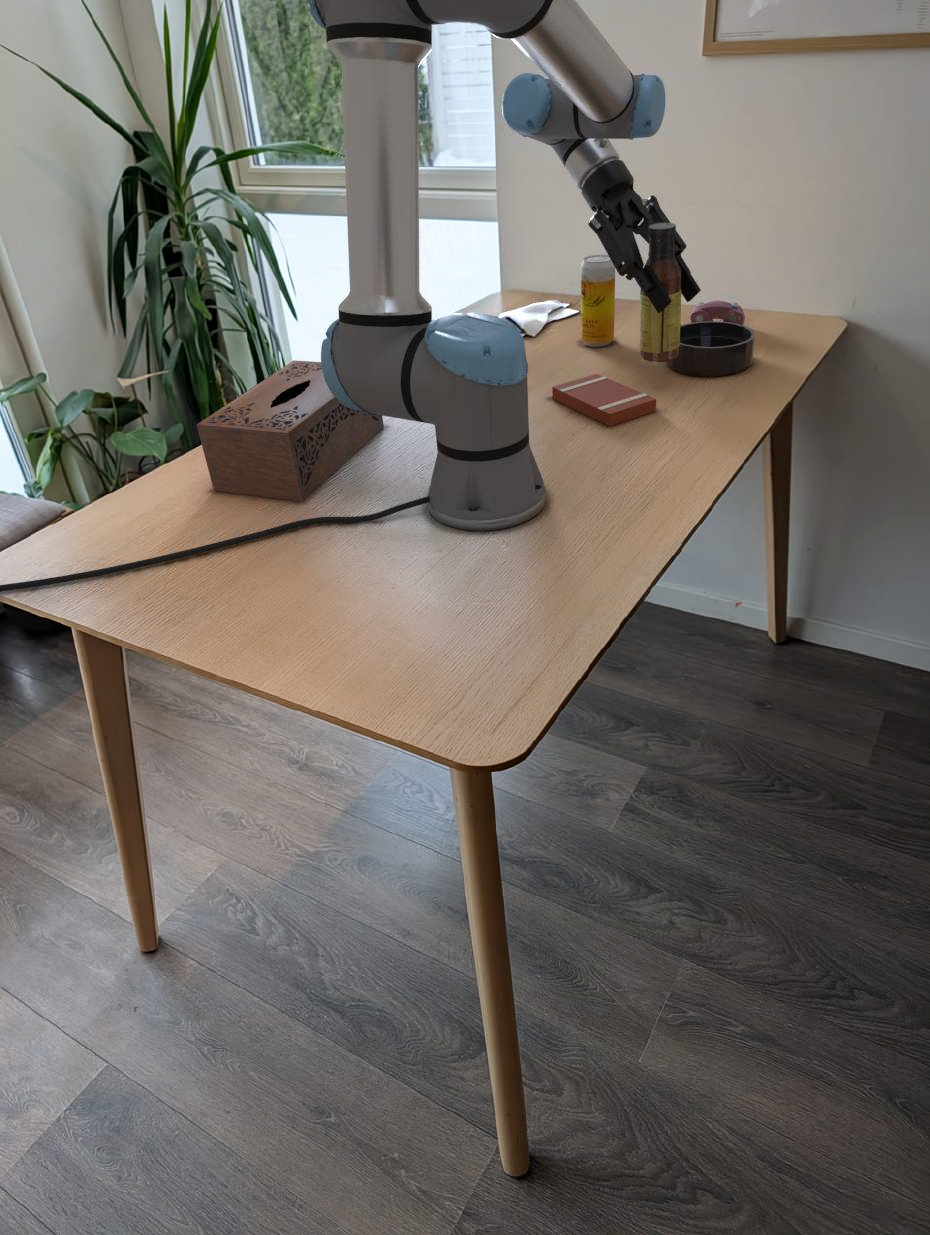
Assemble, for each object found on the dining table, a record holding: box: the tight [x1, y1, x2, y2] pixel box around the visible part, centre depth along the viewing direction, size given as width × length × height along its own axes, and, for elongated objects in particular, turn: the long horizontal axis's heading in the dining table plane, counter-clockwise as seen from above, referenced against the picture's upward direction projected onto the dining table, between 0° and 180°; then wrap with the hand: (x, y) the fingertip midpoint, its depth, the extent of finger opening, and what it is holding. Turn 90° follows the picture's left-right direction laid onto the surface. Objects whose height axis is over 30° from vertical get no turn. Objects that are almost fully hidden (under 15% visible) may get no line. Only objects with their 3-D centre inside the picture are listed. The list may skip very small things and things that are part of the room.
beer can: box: [580, 254, 616, 348], centre depth 162 cm, size 6×6×15 cm
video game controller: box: [689, 300, 746, 326], centre depth 165 cm, size 10×5×7 cm, turn 73°
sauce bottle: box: [639, 222, 682, 363], centre depth 137 cm, size 6×6×20 cm
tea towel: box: [551, 373, 657, 427], centre depth 141 cm, size 9×15×2 cm, turn 30°
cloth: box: [497, 299, 580, 338], centre depth 180 cm, size 26×14×2 cm, turn 141°
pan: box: [666, 320, 756, 377], centre depth 151 cm, size 14×14×5 cm
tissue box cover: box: [196, 360, 385, 503], centre depth 131 cm, size 26×14×10 cm, turn 158°
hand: (679, 301), depth 135 cm, fingers closed on sauce bottle, 6 cm apart
